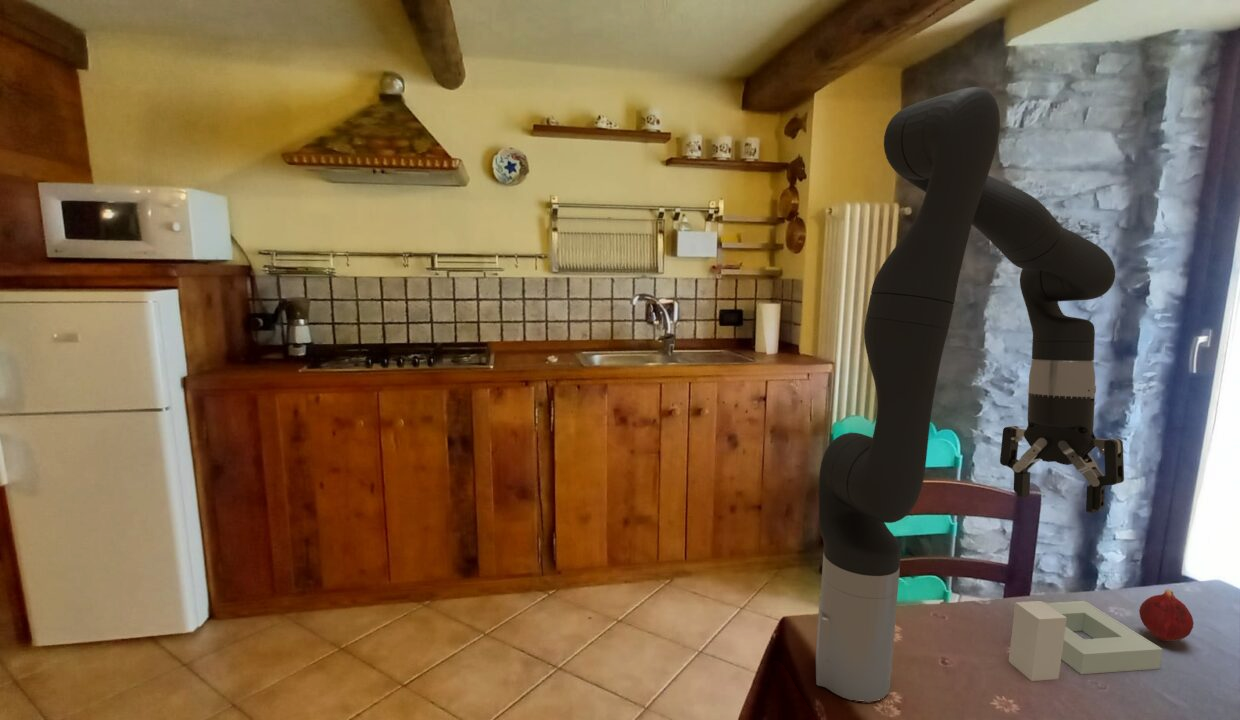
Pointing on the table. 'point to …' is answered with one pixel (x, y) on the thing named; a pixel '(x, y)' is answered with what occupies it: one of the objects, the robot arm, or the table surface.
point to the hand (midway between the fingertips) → (1056, 504)
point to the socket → (1103, 642)
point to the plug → (1037, 640)
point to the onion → (1166, 617)
